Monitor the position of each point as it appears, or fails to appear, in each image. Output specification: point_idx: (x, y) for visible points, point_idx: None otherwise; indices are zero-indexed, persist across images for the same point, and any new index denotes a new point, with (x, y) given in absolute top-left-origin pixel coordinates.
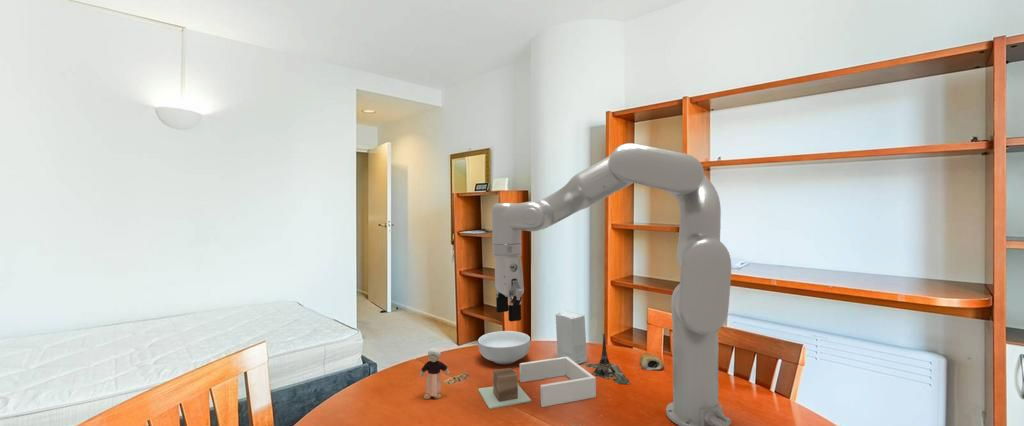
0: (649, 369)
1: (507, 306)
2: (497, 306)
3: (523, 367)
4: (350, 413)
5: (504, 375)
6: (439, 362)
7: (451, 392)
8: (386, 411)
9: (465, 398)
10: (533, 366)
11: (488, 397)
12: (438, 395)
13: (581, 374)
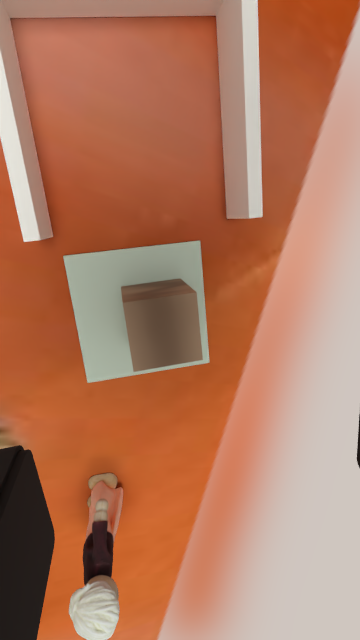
0: None
1: (18, 488)
2: (38, 597)
3: (40, 226)
4: (146, 625)
5: (187, 338)
6: (103, 561)
7: (87, 449)
8: (155, 568)
9: (132, 414)
10: (30, 177)
11: None
12: (114, 482)
13: None
